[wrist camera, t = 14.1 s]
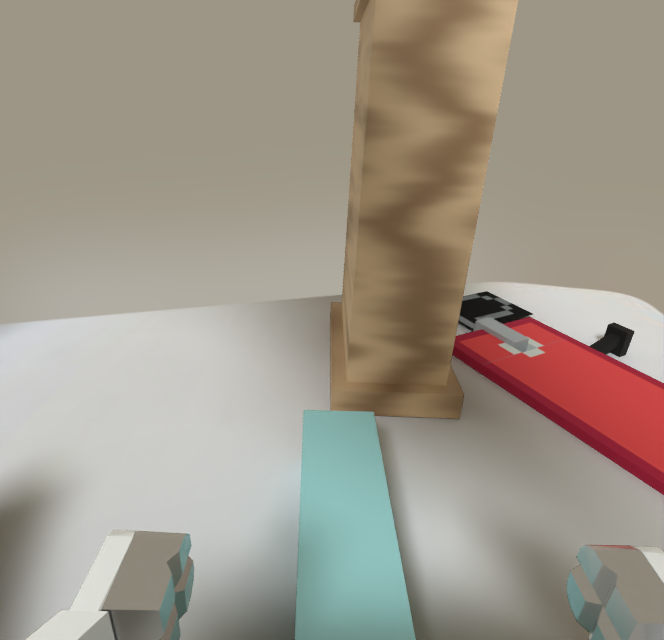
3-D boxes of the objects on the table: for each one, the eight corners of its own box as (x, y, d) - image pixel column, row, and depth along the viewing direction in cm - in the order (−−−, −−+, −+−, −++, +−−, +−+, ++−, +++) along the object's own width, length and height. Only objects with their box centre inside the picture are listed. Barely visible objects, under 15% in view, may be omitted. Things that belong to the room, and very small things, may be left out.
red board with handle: (496, 296, 55) (393, 319, 48) (501, 273, 53) (396, 294, 47) (832, 459, 31) (723, 548, 25) (855, 426, 30) (746, 511, 23)
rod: (269, 1347, 8) (266, 1358, 6) (302, 464, 28) (303, 410, 26) (490, 1329, 8) (544, 1336, 7) (367, 465, 28) (373, 411, 27)
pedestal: (330, 413, 32) (359, -54, 21) (330, 320, 46) (347, 6, 35) (459, 418, 32) (555, -41, 21) (420, 324, 46) (466, 14, 35)
